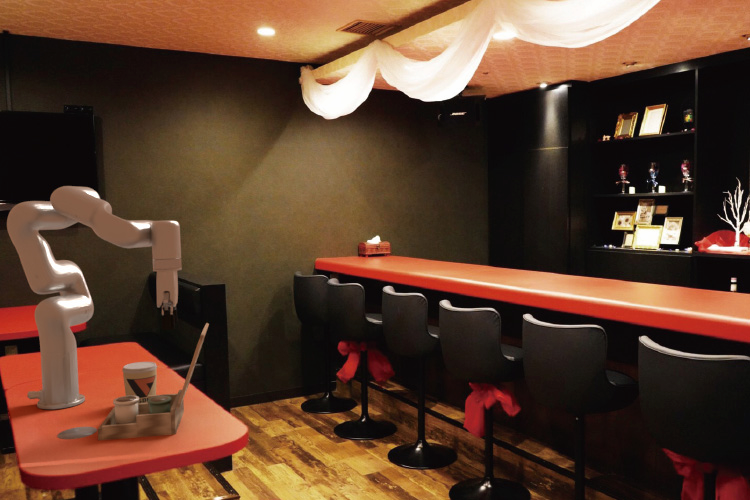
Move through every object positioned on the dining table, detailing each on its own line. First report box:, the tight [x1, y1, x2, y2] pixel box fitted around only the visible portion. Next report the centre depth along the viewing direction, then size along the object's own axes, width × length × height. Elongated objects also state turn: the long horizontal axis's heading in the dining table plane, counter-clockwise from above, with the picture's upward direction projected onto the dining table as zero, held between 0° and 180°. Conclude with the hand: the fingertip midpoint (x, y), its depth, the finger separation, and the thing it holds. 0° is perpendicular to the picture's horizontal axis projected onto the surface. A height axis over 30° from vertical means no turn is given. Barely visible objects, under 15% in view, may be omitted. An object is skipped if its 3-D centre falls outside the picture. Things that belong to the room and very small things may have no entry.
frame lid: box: [176, 322, 210, 409], centre depth 164 cm, size 19×18×1 cm
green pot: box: [148, 396, 171, 414], centre depth 164 cm, size 6×6×6 cm
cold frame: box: [97, 389, 185, 441], centre depth 162 cm, size 18×18×7 cm
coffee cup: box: [121, 361, 158, 403], centre depth 181 cm, size 9×9×12 cm
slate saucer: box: [56, 426, 98, 440], centre depth 158 cm, size 9×9×1 cm
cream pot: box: [112, 395, 139, 425], centre depth 161 cm, size 6×6×7 cm
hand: (169, 326), depth 175 cm, fingers open, 9 cm apart
